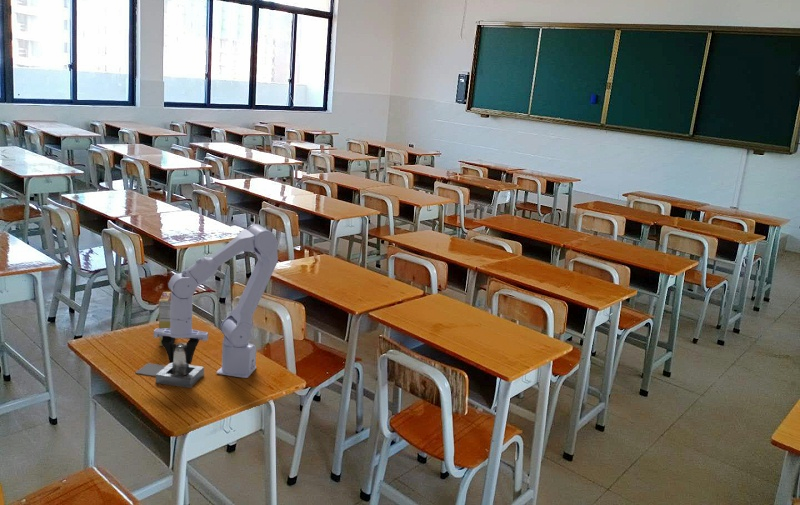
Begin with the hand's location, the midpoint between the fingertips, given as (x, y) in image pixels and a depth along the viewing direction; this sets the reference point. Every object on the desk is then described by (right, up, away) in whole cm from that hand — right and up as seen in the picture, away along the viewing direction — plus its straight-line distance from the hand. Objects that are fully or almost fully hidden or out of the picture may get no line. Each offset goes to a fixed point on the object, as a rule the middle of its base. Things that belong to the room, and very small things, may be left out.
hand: (180, 362), depth 184 cm
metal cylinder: (0, -3, +1) cm, 3 cm away
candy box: (-13, +2, +26) cm, 29 cm away
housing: (-1, -5, +1) cm, 5 cm away
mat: (-10, -3, +5) cm, 11 cm away
